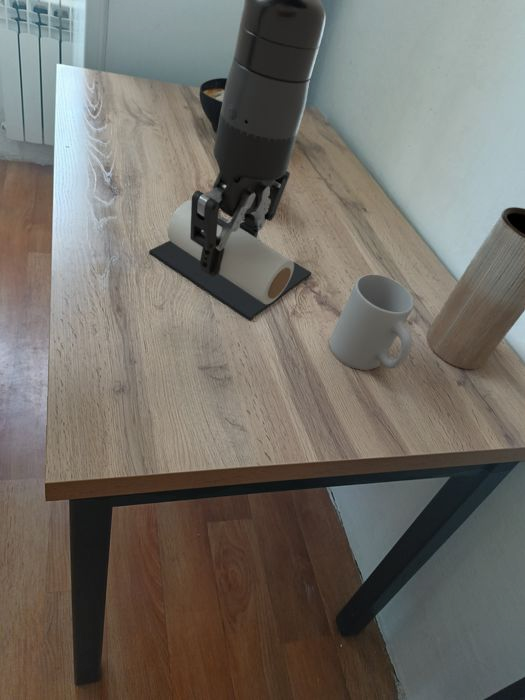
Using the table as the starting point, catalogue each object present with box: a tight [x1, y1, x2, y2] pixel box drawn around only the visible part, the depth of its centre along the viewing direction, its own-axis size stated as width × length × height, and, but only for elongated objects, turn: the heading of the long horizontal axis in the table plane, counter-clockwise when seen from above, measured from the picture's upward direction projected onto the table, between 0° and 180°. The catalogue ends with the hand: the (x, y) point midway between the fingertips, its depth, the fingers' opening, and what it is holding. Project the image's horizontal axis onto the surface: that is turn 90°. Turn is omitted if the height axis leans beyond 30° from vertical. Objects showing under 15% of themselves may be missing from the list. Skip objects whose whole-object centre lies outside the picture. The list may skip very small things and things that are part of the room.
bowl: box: [198, 77, 228, 135], centre depth 121 cm, size 17×17×10 cm
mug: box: [328, 273, 415, 371], centre depth 75 cm, size 12×8×11 cm
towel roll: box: [167, 199, 295, 304], centre depth 61 cm, size 6×14×6 cm, turn 53°
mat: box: [148, 240, 312, 321], centre depth 87 cm, size 20×18×1 cm
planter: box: [426, 206, 525, 370], centre depth 79 cm, size 10×10×23 cm
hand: (226, 262), depth 62 cm, fingers closed on towel roll, 5 cm apart
